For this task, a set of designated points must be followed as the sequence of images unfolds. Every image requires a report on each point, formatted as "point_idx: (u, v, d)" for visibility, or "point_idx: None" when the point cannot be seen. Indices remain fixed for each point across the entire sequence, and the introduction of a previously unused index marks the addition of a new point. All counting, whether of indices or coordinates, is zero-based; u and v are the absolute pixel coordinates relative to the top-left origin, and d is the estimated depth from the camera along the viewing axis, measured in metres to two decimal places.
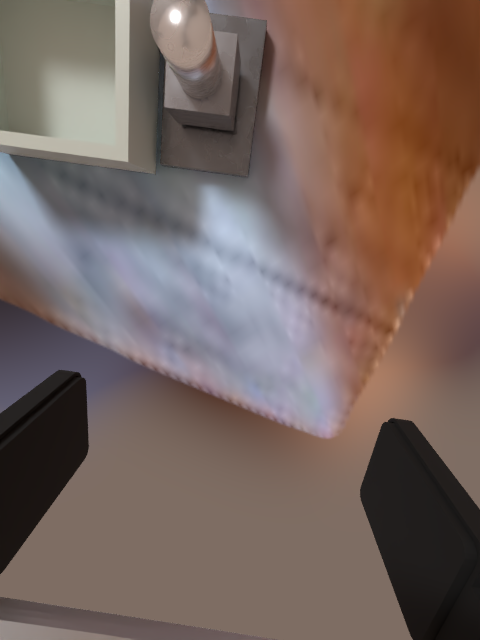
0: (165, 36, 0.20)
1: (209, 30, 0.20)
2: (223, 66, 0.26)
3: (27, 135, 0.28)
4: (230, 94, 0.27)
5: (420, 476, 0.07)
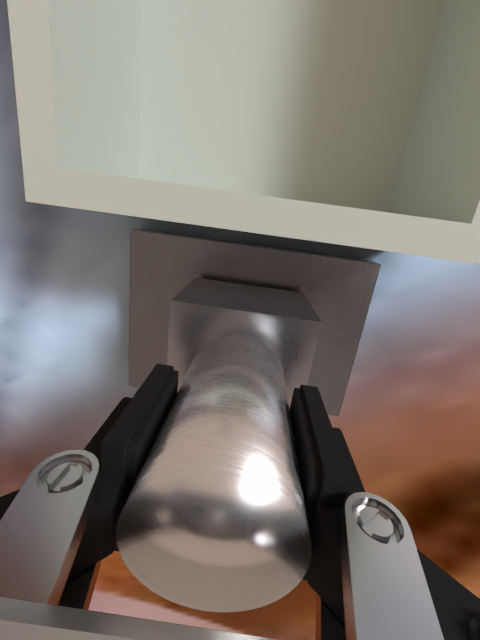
0: (172, 509, 0.06)
1: None
2: None
3: None
4: None
5: (303, 426, 0.08)
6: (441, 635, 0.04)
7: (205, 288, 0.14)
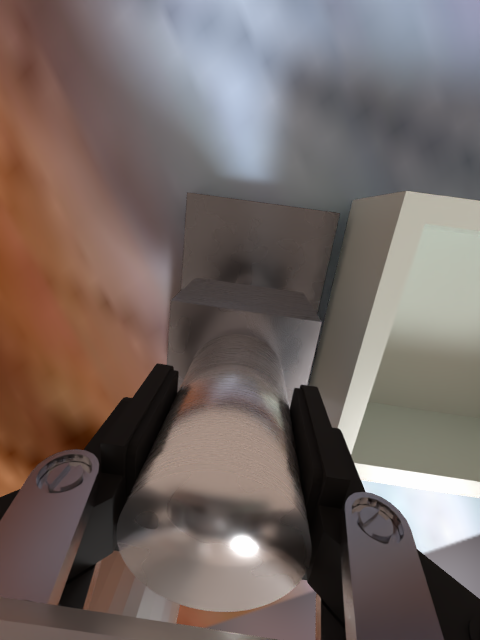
0: (172, 507, 0.06)
1: None
2: None
3: None
4: None
5: (303, 426, 0.08)
6: (441, 635, 0.04)
7: (205, 288, 0.15)
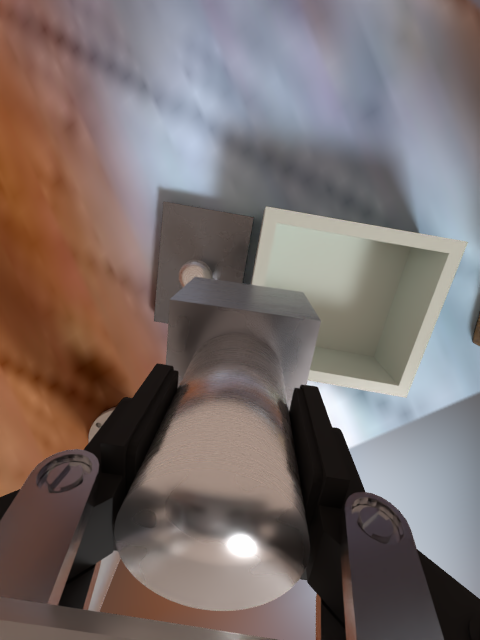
0: (171, 506, 0.06)
1: None
2: None
3: (369, 237, 0.27)
4: None
5: (303, 426, 0.08)
6: (441, 635, 0.04)
7: (204, 287, 0.14)
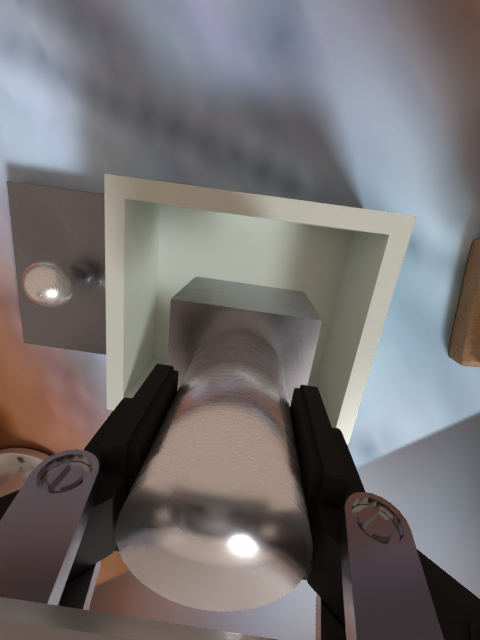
0: (172, 506, 0.06)
1: None
2: None
3: (266, 215, 0.18)
4: None
5: (303, 426, 0.08)
6: (441, 635, 0.04)
7: (205, 287, 0.14)
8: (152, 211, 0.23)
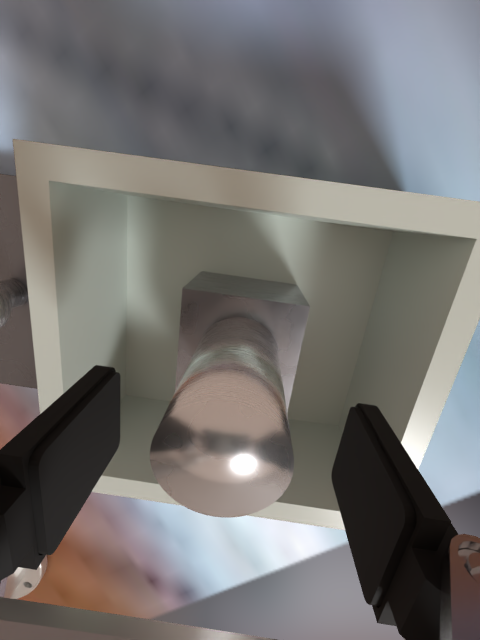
0: (192, 431, 0.08)
1: None
2: None
3: (276, 206, 0.11)
4: None
5: (376, 453, 0.07)
6: None
7: (210, 279, 0.17)
8: (112, 203, 0.16)
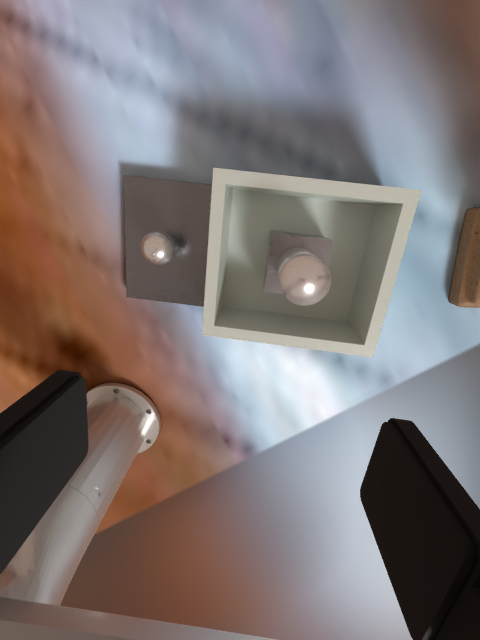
0: (296, 268, 0.24)
1: (299, 304, 0.25)
2: None
3: (320, 192, 0.26)
4: (279, 292, 0.32)
5: (420, 476, 0.07)
6: None
7: (279, 232, 0.32)
8: (231, 194, 0.32)
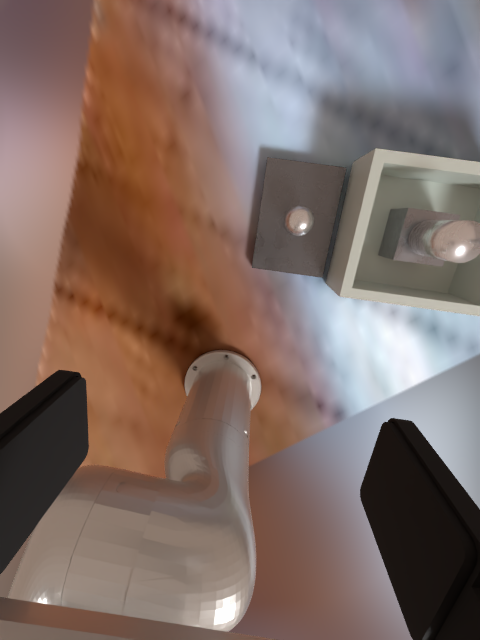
0: (458, 230, 0.29)
1: None
2: (425, 256, 0.36)
3: (464, 171, 0.31)
4: (406, 261, 0.37)
5: (420, 476, 0.07)
6: None
7: None
8: None
